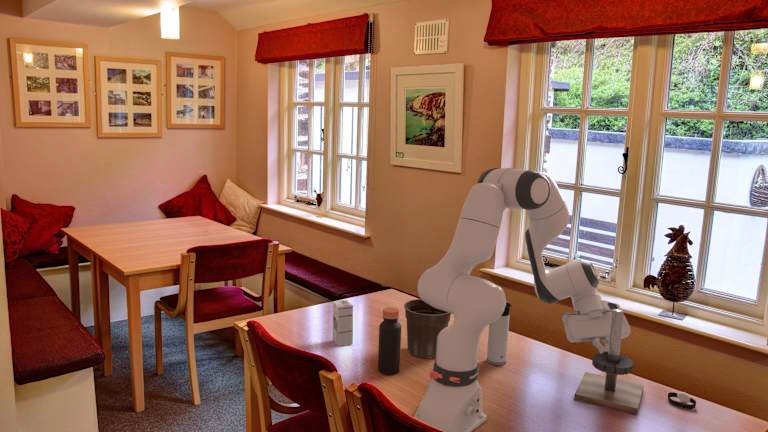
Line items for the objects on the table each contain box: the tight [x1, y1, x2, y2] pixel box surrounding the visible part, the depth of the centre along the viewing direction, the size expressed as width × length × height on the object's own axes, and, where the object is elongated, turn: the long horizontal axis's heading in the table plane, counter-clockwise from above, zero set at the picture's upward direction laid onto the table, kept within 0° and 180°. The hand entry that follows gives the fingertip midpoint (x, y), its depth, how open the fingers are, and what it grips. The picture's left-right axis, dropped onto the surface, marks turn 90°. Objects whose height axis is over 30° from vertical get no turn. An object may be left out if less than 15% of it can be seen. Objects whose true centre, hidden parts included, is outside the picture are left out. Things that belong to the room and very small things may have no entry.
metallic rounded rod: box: [605, 309, 625, 391], centre depth 184 cm, size 3×3×24 cm
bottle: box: [377, 306, 402, 376], centre depth 196 cm, size 7×7×20 cm
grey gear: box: [591, 352, 635, 376], centre depth 185 cm, size 11×11×2 cm
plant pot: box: [403, 298, 452, 359], centre depth 212 cm, size 16×16×16 cm
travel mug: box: [486, 302, 512, 366], centre depth 206 cm, size 6×7×20 cm
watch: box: [667, 391, 697, 410], centre depth 182 cm, size 8×5×4 cm, turn 45°
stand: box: [573, 371, 645, 416], centre depth 186 cm, size 17×17×2 cm
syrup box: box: [332, 299, 354, 347], centre depth 218 cm, size 6×6×14 cm
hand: (606, 353), depth 188 cm, fingers closed, pressing on grey gear
